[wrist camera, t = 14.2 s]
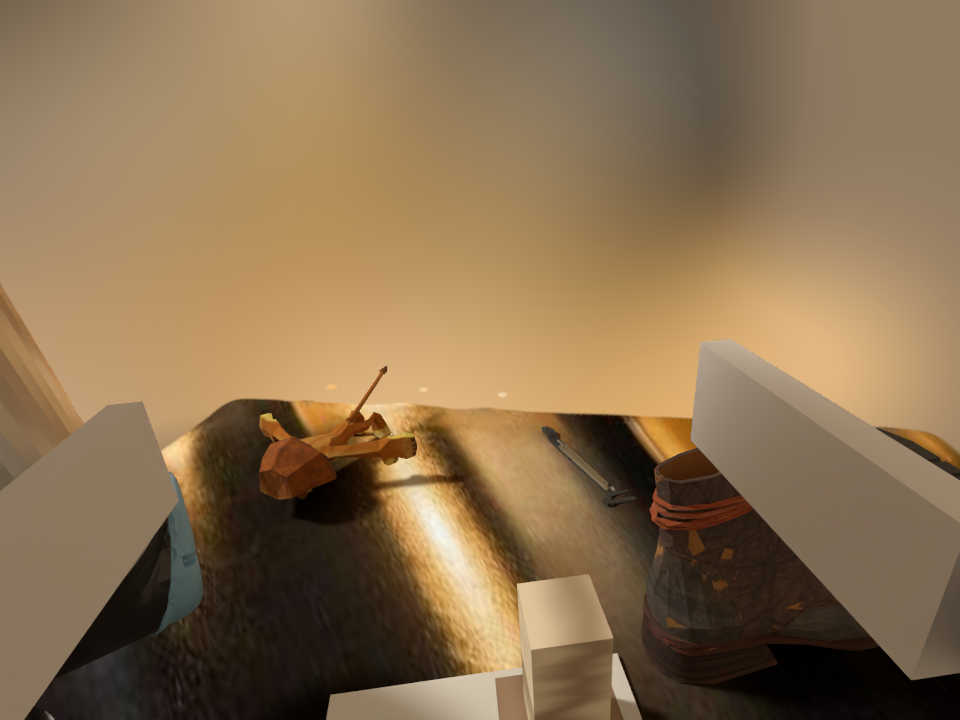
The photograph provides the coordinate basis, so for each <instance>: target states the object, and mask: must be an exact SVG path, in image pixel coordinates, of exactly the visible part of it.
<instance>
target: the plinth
mask: <svg viewBox="0 0 960 720" xmlns="http://www.w3.org/2000/svg"><path fill="white" fill-rule="evenodd" d="M495 683H496V694H497V705H498V715H499V720H528V719H527V714H526V708H525V703H524V691H523V674H522V675H515V676H508V677H501V678H495ZM610 720H624V719H623V716H622V714H621V711H620V708H619V705H618V702H617V699H616V696H615V693H614V691H613V688H612V686H611V711H610Z"/></svg>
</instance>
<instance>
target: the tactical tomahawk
mask: <svg viewBox="0 0 960 720" xmlns="http://www.w3.org/2000/svg"><path fill="white" fill-rule="evenodd" d="M542 431H543V432H544V433H545V434H546V435H547V437H548V439H549V441H550V442H551V443H552V444H553V445H554V446H555V447H556V448H557V449H558V450H560V451H561V452H562V453H563V454H564V455H565V456H566V457H568V459H570V460H571V461H572V462H573V463H574V464H575V465H576V466H577V467H578V468H580V469H581V470H582V471H583V472H584V473H585V474H586V475H587V476H588V477H590V478H591V479H592V480H593V481H594V482H595V483H596V484H597V485H598V486H599V487H601V488H602V489H603V490H604V491H605V492H606V493H608V496H607V497H604V498H603V499H602V502H603V503H604V504H605V505H606V506H607V507H614V505H615V504H621V503H625V502H629V501H632V500H635V499H636V498H635V497H634V496H632V497H626V498H623V499H619V500H617V501H613V500H612V499H611V498H613V497H615V496H617V495H619V494H622V493H624V492H627V490H624V491H620V492H619V491H617V490H616V489H615V486H610V485H608V484H609V483H608V482H607V481H606V480H605V479H603V478H602V477H601V476H600V475H599V474H598V473H597V472H596V471H595V470H593V469H592V468H591V467H590V466H589V465H588V464H587V463H586V462H585V461H584V460H583V459H582V458H580V457H579V456H578V455H577V454H576V453H575V452H573V450H572V449H571V448H570V447H568V446H567V445H565V444H564V443H563V442H562V441H561V440H560V439H559V438H558V436H557V434H556V432H555V430H554V429H552V428H550V427H547V426H545V428H544V427H542Z"/></svg>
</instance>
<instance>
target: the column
mask: <svg viewBox="0 0 960 720" xmlns="http://www.w3.org/2000/svg"><path fill="white" fill-rule="evenodd" d="M517 590H518V607H519V624H520V640H521V657H522V674H523V691H524V703H525V708H526V714H527V719H528V720H610V711H611V686H612V661H613V636H612V633H611V631H610V628H609V625H608V623H607V620H606V618H605V615H604V613H603V610H602V607H601V605H600V602H599V600H598V597H597V594H596V592H595V589H594V587H593V584H592V581H591V579H590V576H589V574H587V575H580V576H572V577H565V578H557V579H550V580H542V581H535V582H527V583H520V584H517Z"/></svg>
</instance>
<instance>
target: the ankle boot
mask: <svg viewBox="0 0 960 720" xmlns="http://www.w3.org/2000/svg"><path fill="white" fill-rule="evenodd" d="M654 471H655V475H654V476H655V479H656V489H655V492H654V495H653V500H654V502H653V504H652V506H651V508H650V511H651V515H652V521H653V522H655V523H656V524H657V525H658V526H659V532H660V534H659V535H658V547H657V551H656V554H655V558H654V561H653V565H652V568H651V571H650V574H649V577H648V580H647V583H646V584H647V593H646V595H645V598H644V603H643V607H644V614H643V623H642V644H643V646H644V648H645V651H646V653H647V655H648V657H649V659H650V660H651V661H652V663H653V664H654V665H655V666H656V668H657V669H658V670H659V671H660V672H661V673H663V674H665V675H666V676H668V677H670V678H672V679H674V680H675V681H677V682H679V683H681V684H716V683H719V682H723V681H726V680H729V679H732V678H735V677H738V676H742V675H745V674H748V673H751V672H754V671H757V670H761V669H764V668H767V667H770V666H773V665H777V664H778V663H777V661H776V659H775V657H774V655H773V654H772V652H771V650H770V649H769V648H768V646H767V645H766V644H797V645H812V646H819V647H826V648H833V649H841V650H855V651H860V650H865V649H870V648H875V647H879V645H878V643H877V642H876V641H875V640H874V639H873V638H872V637H871V636H870V635H869V634H868V633H867V631H866V630H865V629H864V628H863V627H862V626H861V625H860V624H859V623H858V622H857V621H856V619H855V618H854V617H853V616H852V615H851V614H850V613H849V612H848V611H847V610H846V609H845V607H844V606H843V605H842V604H841V603H840V602H839V601H838V600H837V599H836V598H835V597H834V595H833V594H832V593H831V592H830V591H829V590H828V589H827V588H826V587H825V586H824V585H823V583H822V582H821V581H820V580H819V579H818V578H817V577H816V576H815V575H814V574H813V573H812V571H811V570H810V569H809V568H808V567H807V566H806V565H805V564H804V563H803V562H802V561H801V559H800V558H799V557H798V556H797V555H796V554H795V553H794V552H793V551H792V550H791V549H790V547H789V546H788V545H787V544H786V543H785V542H784V541H783V540H782V539H781V538H780V537H779V535H778V534H777V533H776V532H775V531H774V530H773V529H772V528H771V527H770V526H769V525H768V523H767V522H766V521H765V520H764V519H763V518H762V517H761V516H760V515H759V514H758V513H757V512H756V510H755V509H754V508H753V507H752V506H751V505H750V504H749V503H748V502H747V501H746V500H745V498H744V497H743V496H742V495H741V494H740V493H739V492H738V491H737V490H736V489H735V488H734V486H733V485H732V484H731V483H730V482H729V481H728V480H727V479H726V478H725V477H724V476H723V474H722V473H721V472H720V471H719V470H718V469H717V468H716V467H715V466H714V465H713V464H712V462H711V461H710V460H709V459H708V458H707V457H706V456H705V455H704V454H703V453H702V452H701V450H700V449H699V448H696V449H693V450H689V451H686V452H683V453H680V454H678V455H676V456H674V457H672V458H670V459H667V460H665V461H663V462H662V463H660V464H659V465H658V466H657V467H656V468H655V470H654ZM647 623H648V625H649V626H648V625H647ZM659 639H660V640H661V641H662V642H661V641H660V640H659ZM723 652H724V653H723ZM717 653H719V654H717ZM684 654H685V655H684ZM711 654H713V655H711ZM691 655H692V656H691Z"/></svg>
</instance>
